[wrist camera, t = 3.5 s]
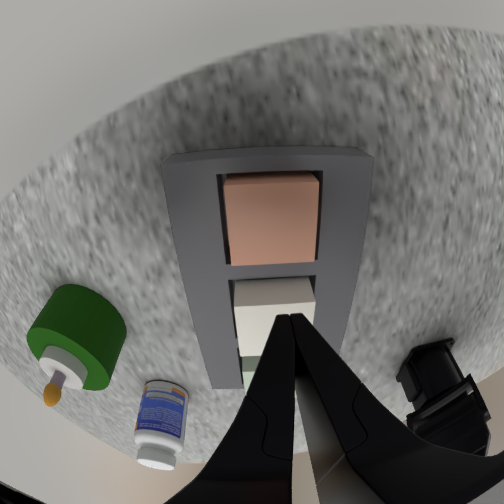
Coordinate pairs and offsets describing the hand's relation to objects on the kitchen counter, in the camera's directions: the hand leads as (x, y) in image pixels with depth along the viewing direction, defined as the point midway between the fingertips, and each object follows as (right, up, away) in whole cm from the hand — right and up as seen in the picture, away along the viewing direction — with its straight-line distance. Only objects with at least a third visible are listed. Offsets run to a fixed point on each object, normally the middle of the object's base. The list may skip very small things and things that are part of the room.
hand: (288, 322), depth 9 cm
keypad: (0, 0, +12) cm, 12 cm away
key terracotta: (0, +5, +7) cm, 9 cm away
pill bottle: (-11, -14, +20) cm, 27 cm away
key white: (0, -1, +10) cm, 10 cm away
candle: (-17, -4, +14) cm, 22 cm away
